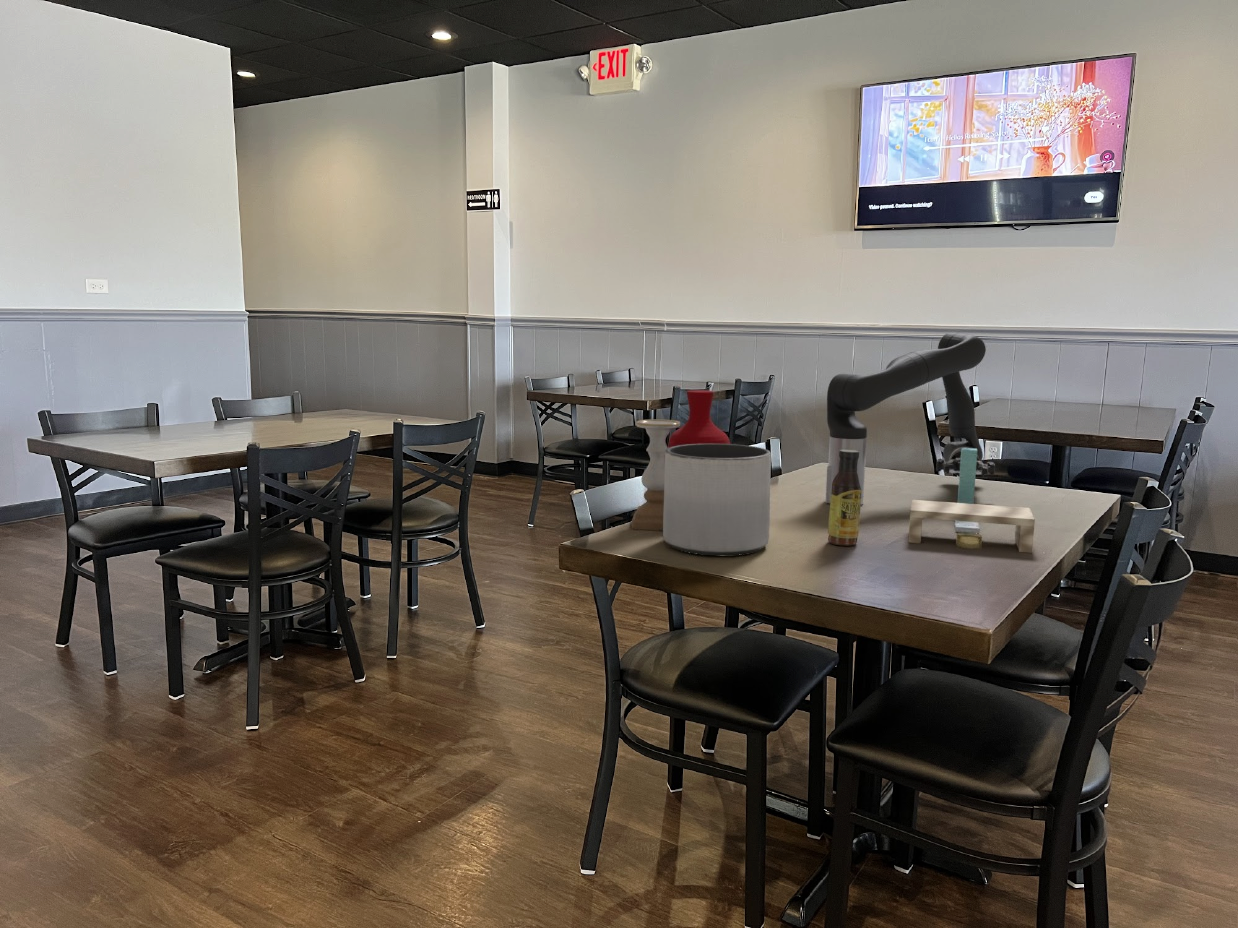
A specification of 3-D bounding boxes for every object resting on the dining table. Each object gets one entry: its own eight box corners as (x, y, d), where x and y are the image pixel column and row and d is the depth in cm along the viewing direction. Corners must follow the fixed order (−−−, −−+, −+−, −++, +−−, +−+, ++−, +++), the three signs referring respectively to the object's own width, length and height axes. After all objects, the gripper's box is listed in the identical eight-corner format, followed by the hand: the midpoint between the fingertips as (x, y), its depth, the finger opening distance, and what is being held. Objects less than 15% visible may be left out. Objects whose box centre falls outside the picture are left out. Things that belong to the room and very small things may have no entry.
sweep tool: (955, 532, 197) (960, 461, 194) (953, 511, 219) (958, 447, 216) (979, 533, 195) (984, 462, 193) (975, 512, 217) (980, 448, 215)
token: (956, 548, 183) (956, 536, 183) (955, 542, 188) (956, 531, 188) (982, 550, 182) (982, 538, 181) (980, 544, 186) (981, 533, 186)
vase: (674, 506, 222) (676, 388, 217) (733, 510, 218) (736, 389, 213) (660, 518, 208) (662, 392, 203) (722, 523, 204) (725, 394, 199)
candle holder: (681, 520, 207) (683, 419, 203) (679, 531, 196) (681, 424, 192) (635, 519, 208) (635, 418, 204) (631, 529, 197) (631, 424, 193)
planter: (705, 564, 169) (708, 461, 166) (642, 540, 188) (643, 447, 185) (791, 549, 181) (794, 453, 178) (723, 528, 199) (725, 440, 196)
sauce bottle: (841, 548, 182) (845, 453, 179) (821, 541, 187) (825, 449, 184) (865, 544, 185) (870, 451, 182) (844, 538, 190) (849, 447, 187)
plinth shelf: (908, 542, 187) (910, 510, 186) (910, 530, 199) (912, 499, 197) (1032, 552, 179) (1034, 519, 178) (1026, 539, 191) (1029, 507, 189)
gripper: (937, 446, 242) (937, 454, 227) (993, 449, 237) (997, 457, 222) (935, 473, 243) (935, 483, 228) (991, 476, 238) (994, 487, 223)
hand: (965, 470), depth 225 cm, fingers open, 8 cm apart
